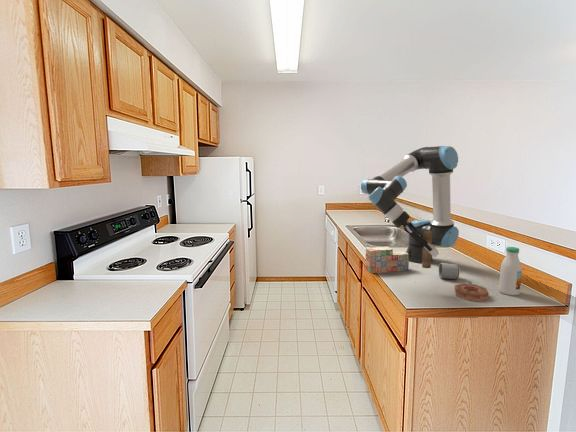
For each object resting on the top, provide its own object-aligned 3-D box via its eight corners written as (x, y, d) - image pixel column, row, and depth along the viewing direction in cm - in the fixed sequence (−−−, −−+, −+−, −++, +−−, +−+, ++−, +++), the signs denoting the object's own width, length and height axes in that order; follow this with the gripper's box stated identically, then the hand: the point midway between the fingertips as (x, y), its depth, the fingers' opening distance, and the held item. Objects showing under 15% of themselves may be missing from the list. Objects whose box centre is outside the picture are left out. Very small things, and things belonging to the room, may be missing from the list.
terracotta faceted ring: (453, 288, 154) (453, 282, 153) (483, 291, 150) (484, 285, 149) (456, 298, 143) (457, 292, 142) (489, 302, 139) (490, 295, 138)
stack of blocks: (403, 267, 186) (404, 245, 184) (408, 271, 180) (409, 248, 178) (365, 269, 184) (365, 247, 182) (369, 273, 177) (370, 250, 176)
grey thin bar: (469, 283, 160) (469, 281, 160) (470, 283, 160) (471, 282, 160) (472, 290, 151) (472, 289, 151) (474, 290, 151) (474, 289, 151)
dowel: (421, 265, 155) (423, 230, 152) (430, 266, 154) (431, 231, 151) (422, 267, 151) (423, 232, 149) (430, 268, 150) (432, 233, 148)
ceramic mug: (459, 281, 163) (460, 265, 162) (441, 280, 165) (442, 265, 164) (453, 274, 173) (454, 259, 172) (436, 273, 175) (437, 259, 174)
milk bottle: (510, 297, 143) (514, 250, 140) (494, 290, 151) (497, 246, 148) (524, 294, 146) (528, 249, 142) (508, 288, 153) (511, 245, 150)
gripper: (392, 218, 162) (428, 254, 159) (390, 225, 147) (430, 265, 144) (404, 207, 159) (441, 244, 157) (403, 213, 144) (444, 253, 141)
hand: (436, 254), depth 150 cm, fingers closed on dowel, 3 cm apart
